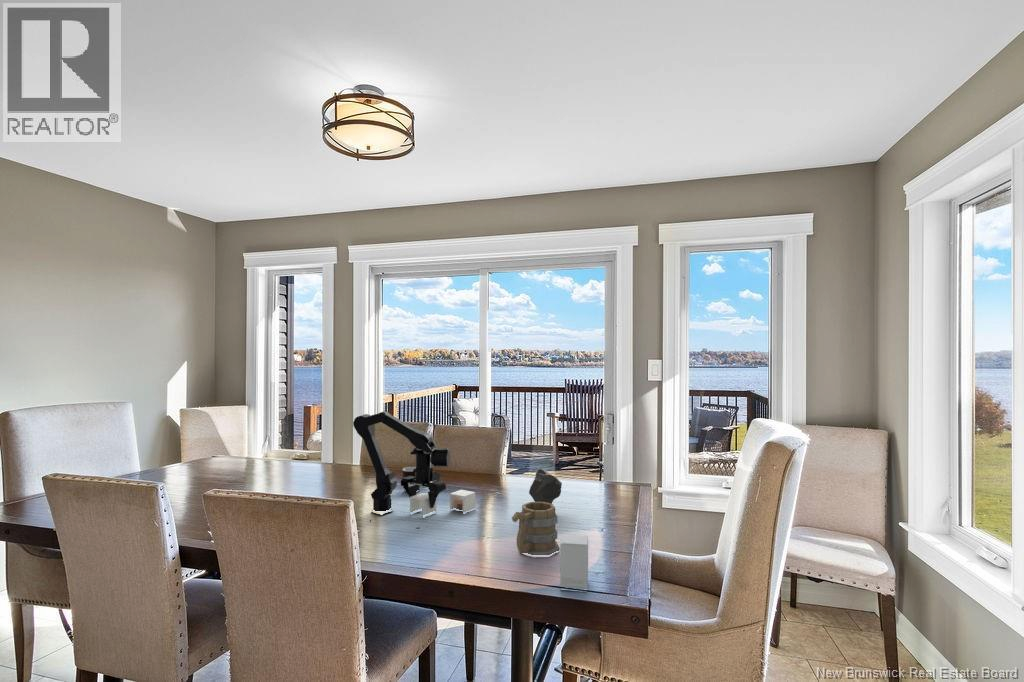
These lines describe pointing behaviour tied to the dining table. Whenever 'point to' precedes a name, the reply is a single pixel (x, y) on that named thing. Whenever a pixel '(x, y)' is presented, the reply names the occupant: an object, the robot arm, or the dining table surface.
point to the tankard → (537, 529)
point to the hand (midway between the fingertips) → (422, 506)
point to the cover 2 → (467, 499)
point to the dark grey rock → (545, 487)
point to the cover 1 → (421, 503)
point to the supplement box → (574, 561)
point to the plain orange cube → (459, 504)
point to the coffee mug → (409, 473)
